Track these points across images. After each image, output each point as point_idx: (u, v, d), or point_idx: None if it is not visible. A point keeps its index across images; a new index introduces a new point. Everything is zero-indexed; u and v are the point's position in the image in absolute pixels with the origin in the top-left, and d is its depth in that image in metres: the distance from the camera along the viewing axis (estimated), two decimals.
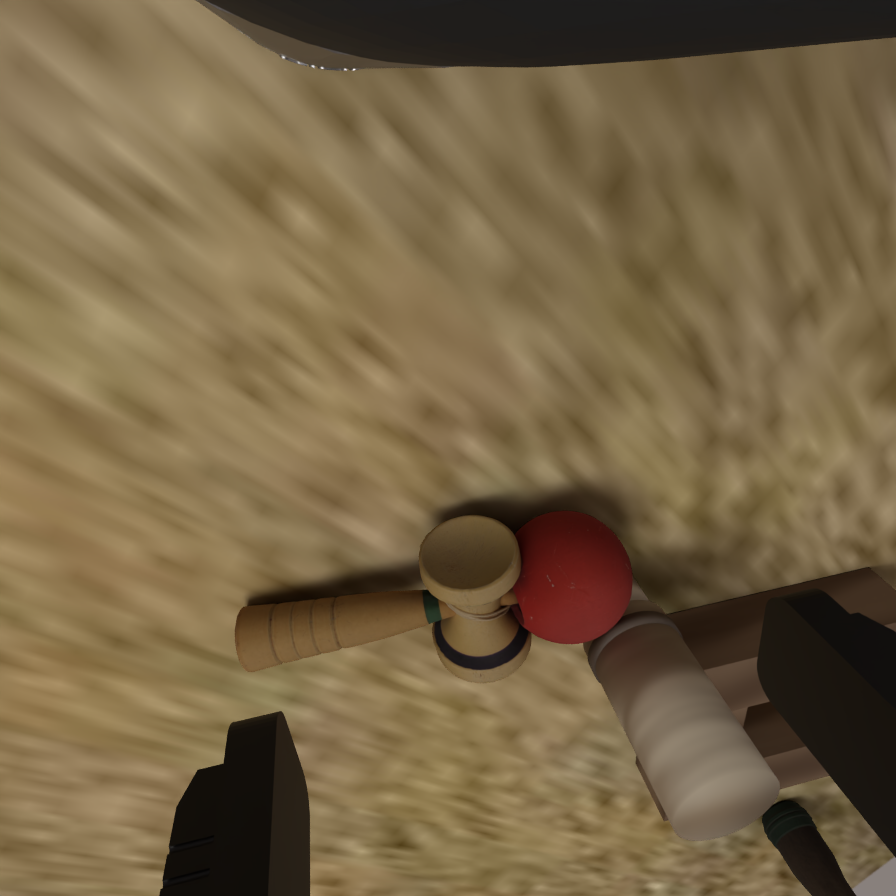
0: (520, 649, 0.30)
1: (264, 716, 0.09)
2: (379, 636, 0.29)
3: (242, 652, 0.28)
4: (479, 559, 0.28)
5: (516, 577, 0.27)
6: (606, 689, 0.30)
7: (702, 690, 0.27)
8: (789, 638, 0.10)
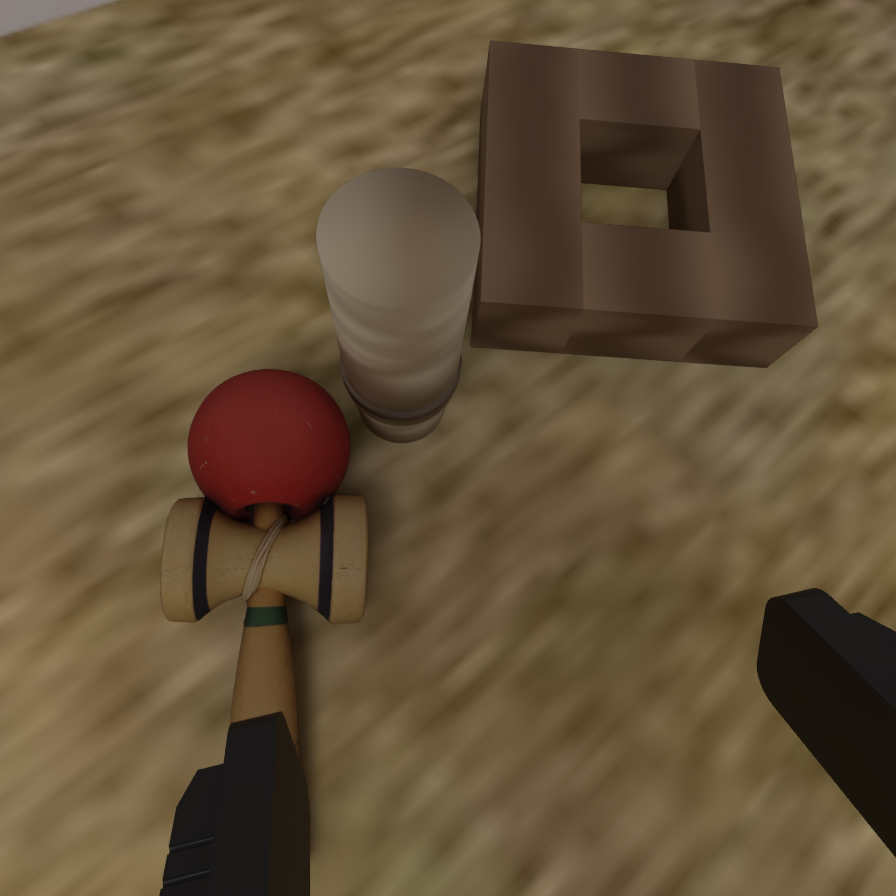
0: (332, 511, 0.23)
1: (264, 716, 0.09)
2: (265, 694, 0.22)
3: None
4: None
5: (193, 505, 0.22)
6: (397, 398, 0.22)
7: None
8: (789, 638, 0.10)
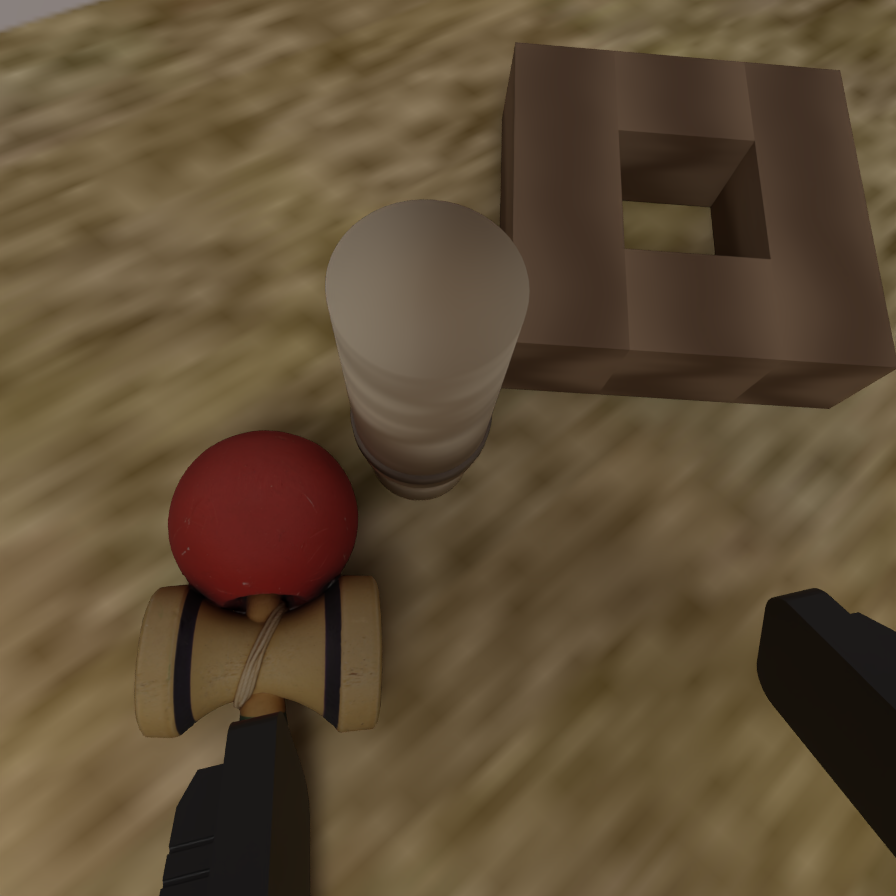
0: (339, 601, 0.19)
1: (264, 716, 0.09)
2: None
3: None
4: None
5: (174, 599, 0.19)
6: (419, 463, 0.19)
7: None
8: (789, 638, 0.10)
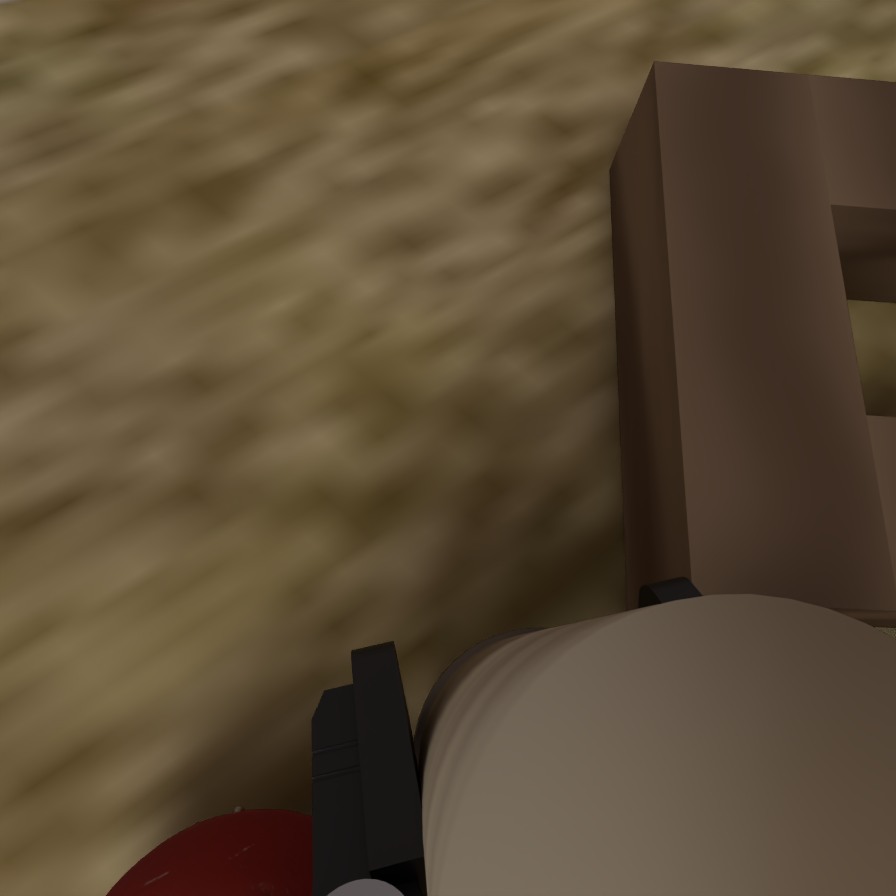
0: None
1: (380, 644, 0.10)
2: None
3: None
4: None
5: None
6: None
7: (440, 733, 0.08)
8: None
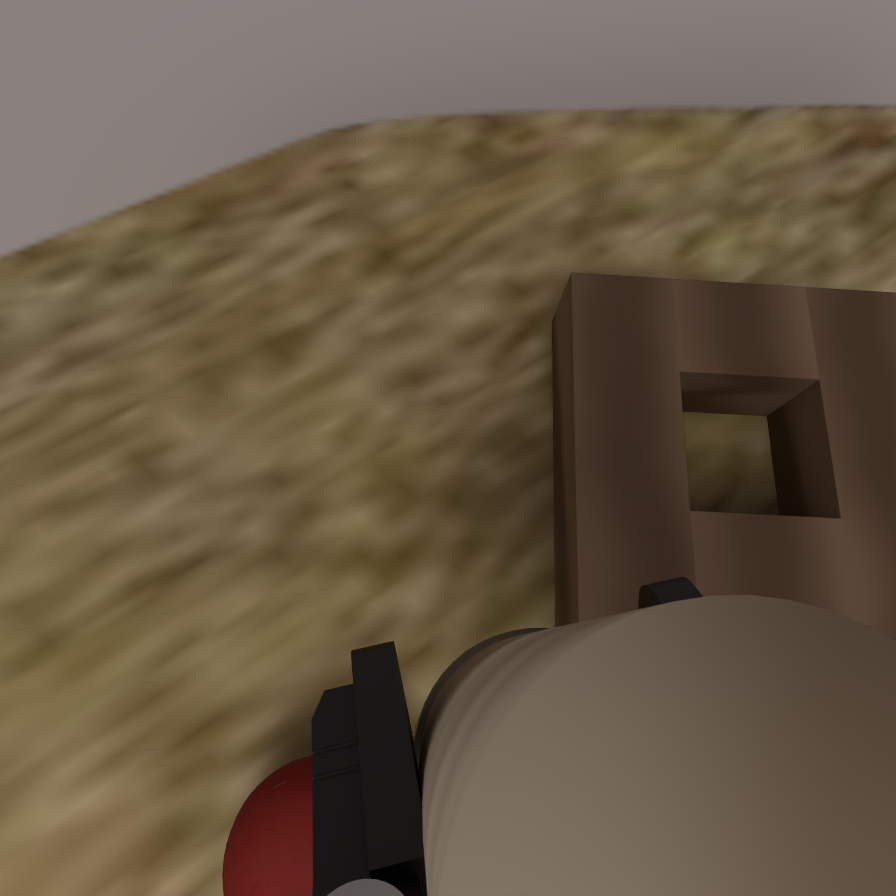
0: None
1: (380, 644, 0.10)
2: None
3: None
4: None
5: None
6: None
7: (441, 734, 0.08)
8: None
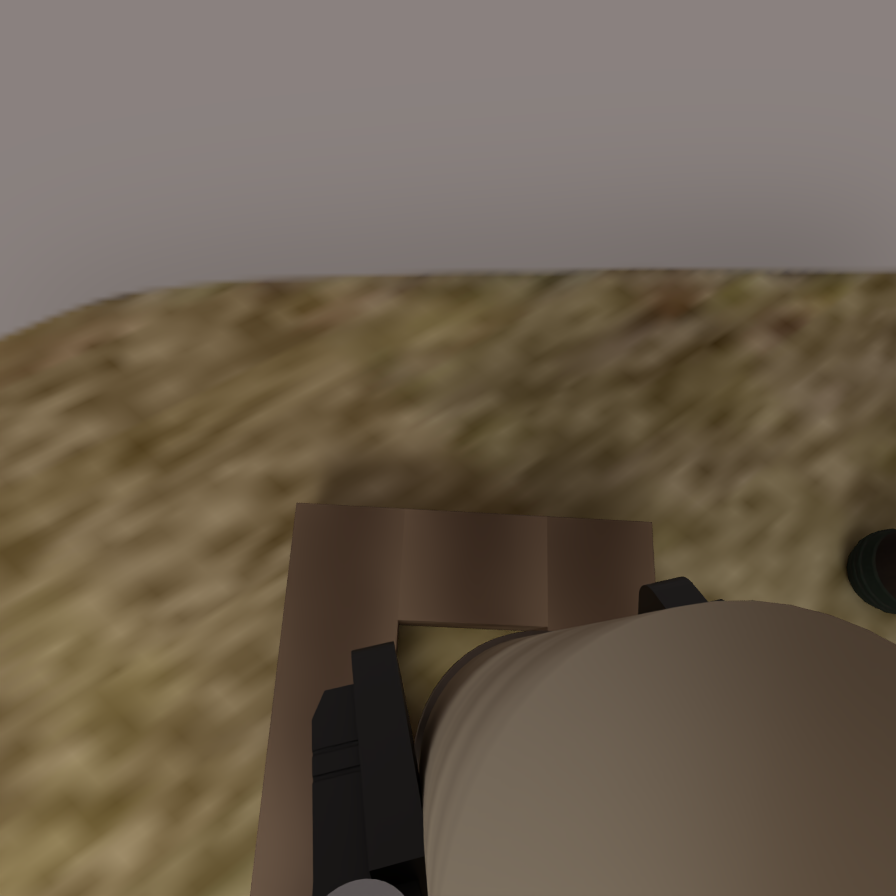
0: None
1: (380, 644, 0.10)
2: None
3: None
4: None
5: None
6: None
7: (441, 737, 0.08)
8: None
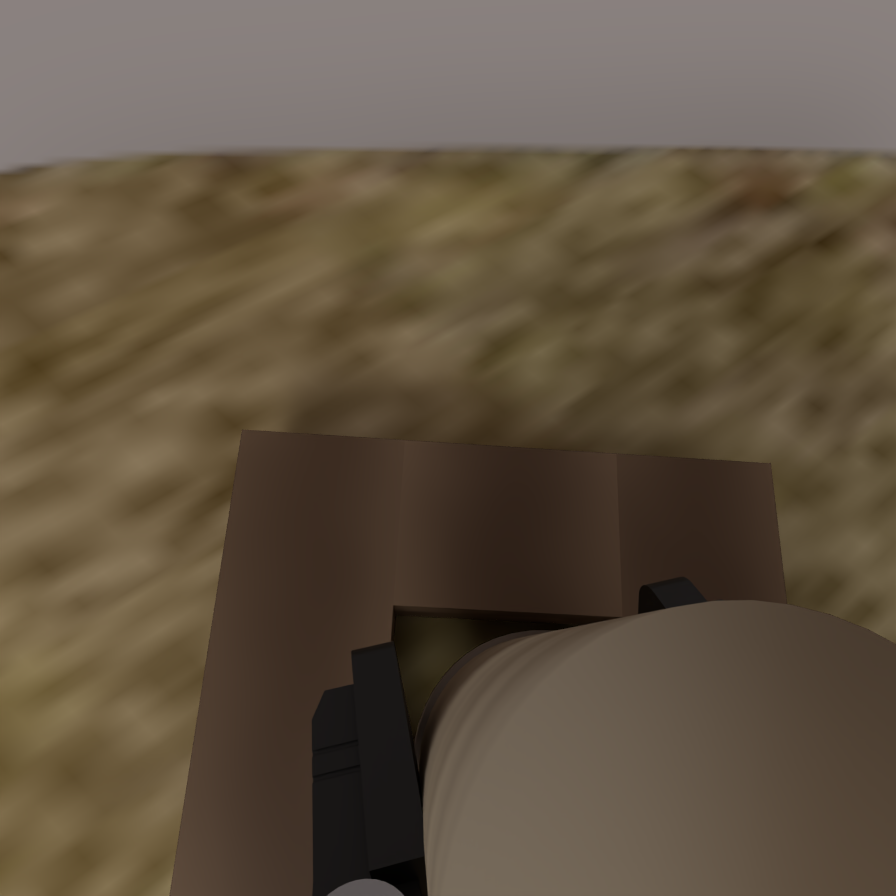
0: None
1: (380, 644, 0.10)
2: None
3: None
4: None
5: None
6: None
7: (441, 737, 0.08)
8: None
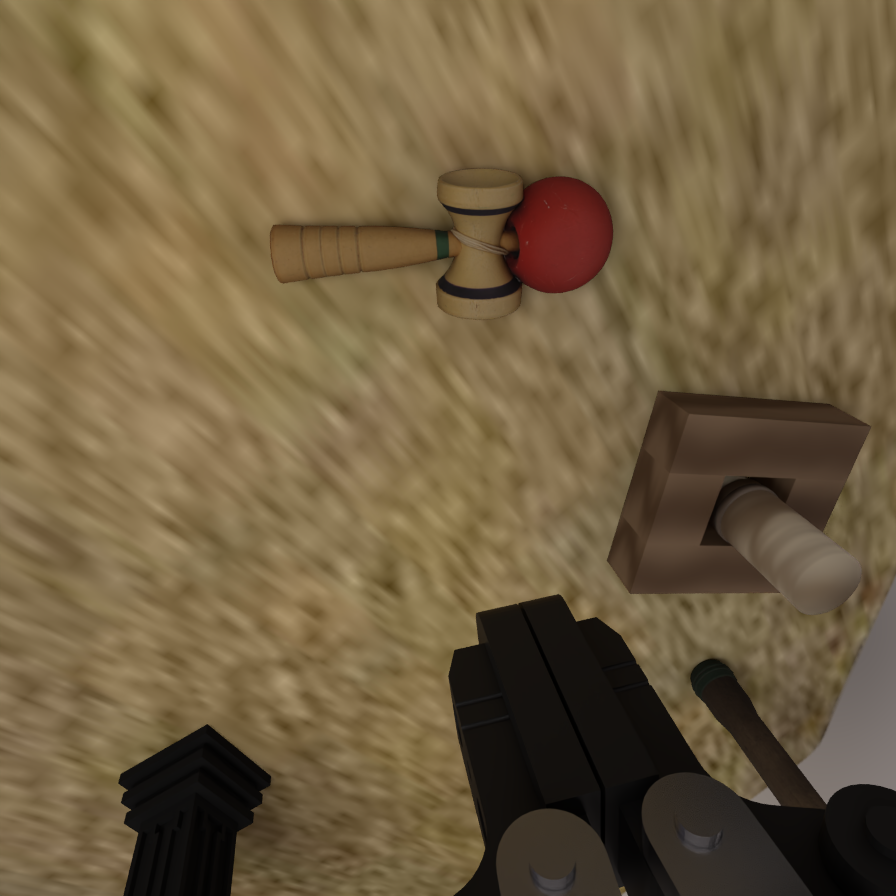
0: (512, 292, 0.34)
1: (504, 607, 0.11)
2: (394, 255, 0.33)
3: (275, 246, 0.32)
4: None
5: (519, 198, 0.32)
6: (733, 527, 0.43)
7: (810, 523, 0.40)
8: None
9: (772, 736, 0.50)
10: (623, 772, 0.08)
